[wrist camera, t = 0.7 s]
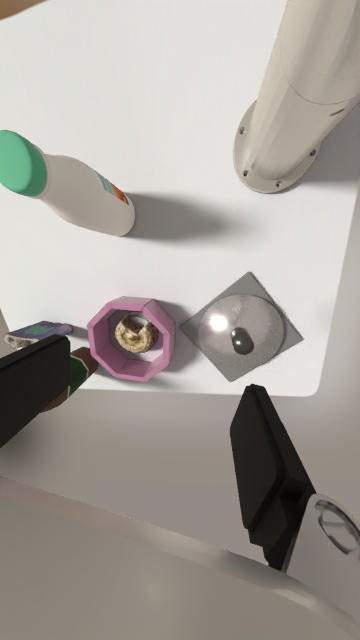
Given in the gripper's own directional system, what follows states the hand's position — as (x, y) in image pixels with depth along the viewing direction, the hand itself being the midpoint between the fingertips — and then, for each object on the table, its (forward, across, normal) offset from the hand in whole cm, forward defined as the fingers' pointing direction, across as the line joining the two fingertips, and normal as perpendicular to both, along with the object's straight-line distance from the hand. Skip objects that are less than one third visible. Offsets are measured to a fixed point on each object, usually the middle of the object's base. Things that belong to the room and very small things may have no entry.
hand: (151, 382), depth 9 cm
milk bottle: (+30, +18, -12) cm, 36 cm away
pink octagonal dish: (+30, +10, +12) cm, 34 cm away
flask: (+30, +32, +16) cm, 47 cm away
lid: (+29, -12, +6) cm, 32 cm away
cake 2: (+30, +11, +12) cm, 34 cm away
